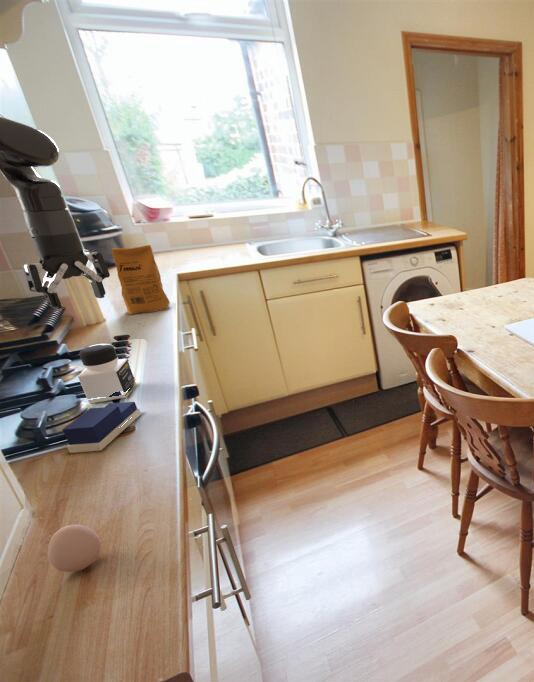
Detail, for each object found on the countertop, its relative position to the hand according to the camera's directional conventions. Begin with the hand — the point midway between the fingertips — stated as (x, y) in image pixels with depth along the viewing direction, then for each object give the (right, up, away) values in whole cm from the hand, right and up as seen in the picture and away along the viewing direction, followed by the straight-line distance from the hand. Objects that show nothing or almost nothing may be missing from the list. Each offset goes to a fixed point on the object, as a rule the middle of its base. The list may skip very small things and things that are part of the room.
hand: (79, 302), depth 106 cm
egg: (+39, -40, -41) cm, 70 cm away
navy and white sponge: (+17, -27, -12) cm, 34 cm away
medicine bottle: (+6, -21, +3) cm, 22 cm away
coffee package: (-29, +2, +58) cm, 65 cm away
